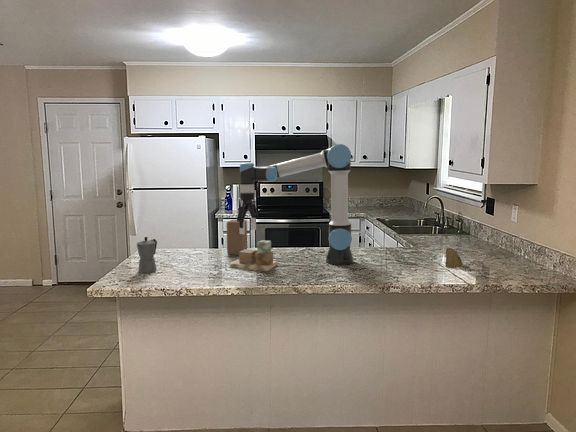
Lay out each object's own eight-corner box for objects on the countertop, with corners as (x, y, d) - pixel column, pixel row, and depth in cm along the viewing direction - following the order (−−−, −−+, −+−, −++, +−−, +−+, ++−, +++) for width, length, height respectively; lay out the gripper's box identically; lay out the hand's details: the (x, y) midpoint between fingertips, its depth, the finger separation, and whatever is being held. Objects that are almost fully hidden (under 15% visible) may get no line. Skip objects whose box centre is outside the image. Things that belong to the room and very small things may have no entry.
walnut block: (245, 259, 245) (245, 249, 244) (256, 260, 242) (256, 250, 242) (239, 262, 238) (239, 251, 238) (251, 263, 236) (251, 252, 235)
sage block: (261, 258, 257) (261, 248, 256) (257, 260, 252) (257, 250, 251) (252, 257, 259) (252, 247, 258) (248, 259, 254) (248, 249, 253)
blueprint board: (276, 264, 242) (276, 261, 241) (267, 270, 230) (267, 267, 229) (240, 261, 249) (240, 257, 249) (229, 267, 238) (229, 263, 237)
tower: (273, 262, 239) (272, 240, 237) (267, 265, 232) (267, 243, 231) (261, 261, 241) (260, 239, 240) (255, 264, 235) (255, 242, 233)
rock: (460, 259, 244) (442, 256, 245) (465, 249, 238) (447, 246, 238) (463, 275, 236) (444, 272, 237) (468, 265, 230) (449, 262, 231)
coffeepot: (147, 275, 222) (146, 240, 220) (131, 273, 225) (129, 238, 223) (165, 267, 237) (163, 234, 234) (149, 266, 240) (148, 233, 237)
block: (242, 255, 263) (242, 222, 260) (226, 254, 265) (226, 221, 262) (247, 251, 273) (247, 219, 270) (232, 251, 275) (231, 219, 272)
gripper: (251, 190, 248) (252, 227, 251) (229, 194, 225) (230, 235, 228) (263, 190, 245) (264, 228, 248) (242, 194, 222) (243, 236, 225)
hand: (248, 231), depth 238 cm, fingers open, 13 cm apart
